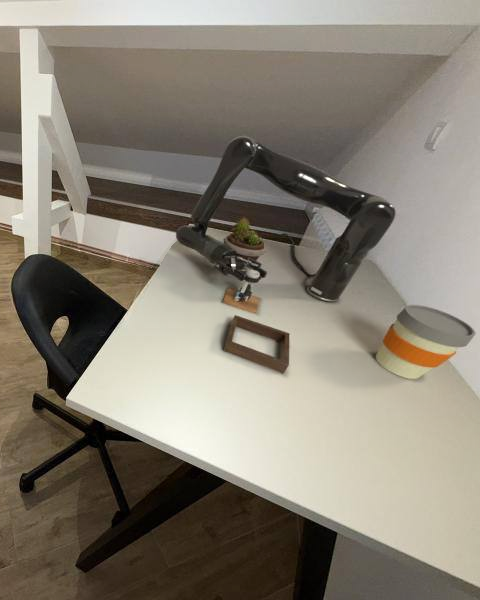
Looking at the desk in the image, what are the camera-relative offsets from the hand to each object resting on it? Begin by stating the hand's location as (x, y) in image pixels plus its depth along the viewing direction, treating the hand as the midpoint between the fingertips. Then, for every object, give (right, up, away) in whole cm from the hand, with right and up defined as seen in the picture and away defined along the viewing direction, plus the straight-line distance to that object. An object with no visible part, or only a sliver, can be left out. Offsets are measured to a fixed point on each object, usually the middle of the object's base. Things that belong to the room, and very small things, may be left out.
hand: (254, 276), depth 95 cm
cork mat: (-1, -7, +6) cm, 10 cm away
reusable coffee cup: (+28, -24, -15) cm, 40 cm away
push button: (-1, -7, +6) cm, 9 cm away
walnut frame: (-7, -19, -12) cm, 24 cm away
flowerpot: (+7, +6, +27) cm, 28 cm away
